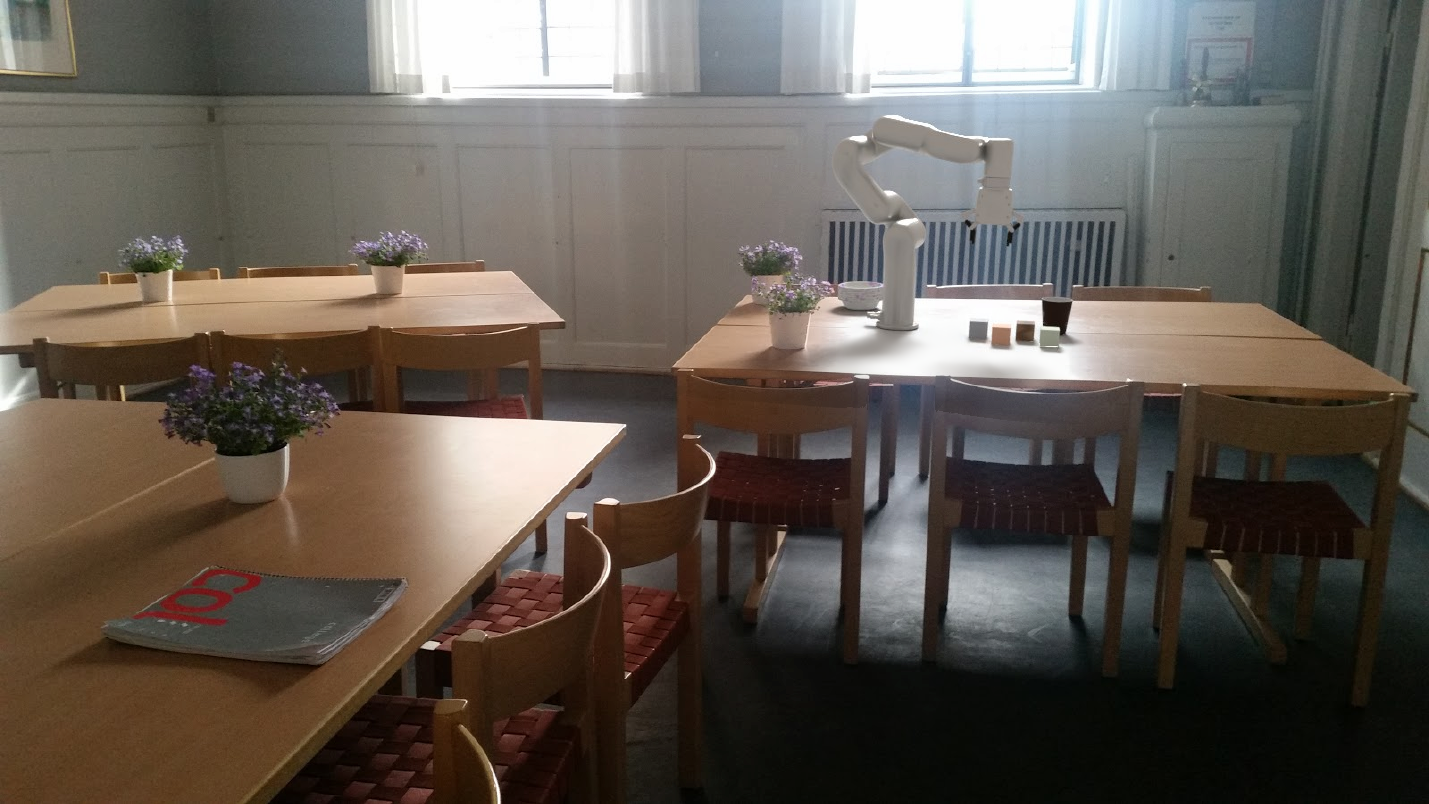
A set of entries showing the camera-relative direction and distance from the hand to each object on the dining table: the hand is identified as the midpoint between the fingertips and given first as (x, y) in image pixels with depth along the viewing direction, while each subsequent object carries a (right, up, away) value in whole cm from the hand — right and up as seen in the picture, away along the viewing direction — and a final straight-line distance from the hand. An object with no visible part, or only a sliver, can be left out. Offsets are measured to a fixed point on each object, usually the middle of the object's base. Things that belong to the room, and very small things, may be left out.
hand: (990, 244), depth 315 cm
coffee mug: (+22, -24, +11) cm, 35 cm away
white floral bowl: (-31, -14, +48) cm, 59 cm away
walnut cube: (+10, -27, +2) cm, 29 cm away
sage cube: (+15, -29, -7) cm, 33 cm away
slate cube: (-2, -26, +5) cm, 26 cm away
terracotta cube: (+2, -28, -3) cm, 28 cm away
